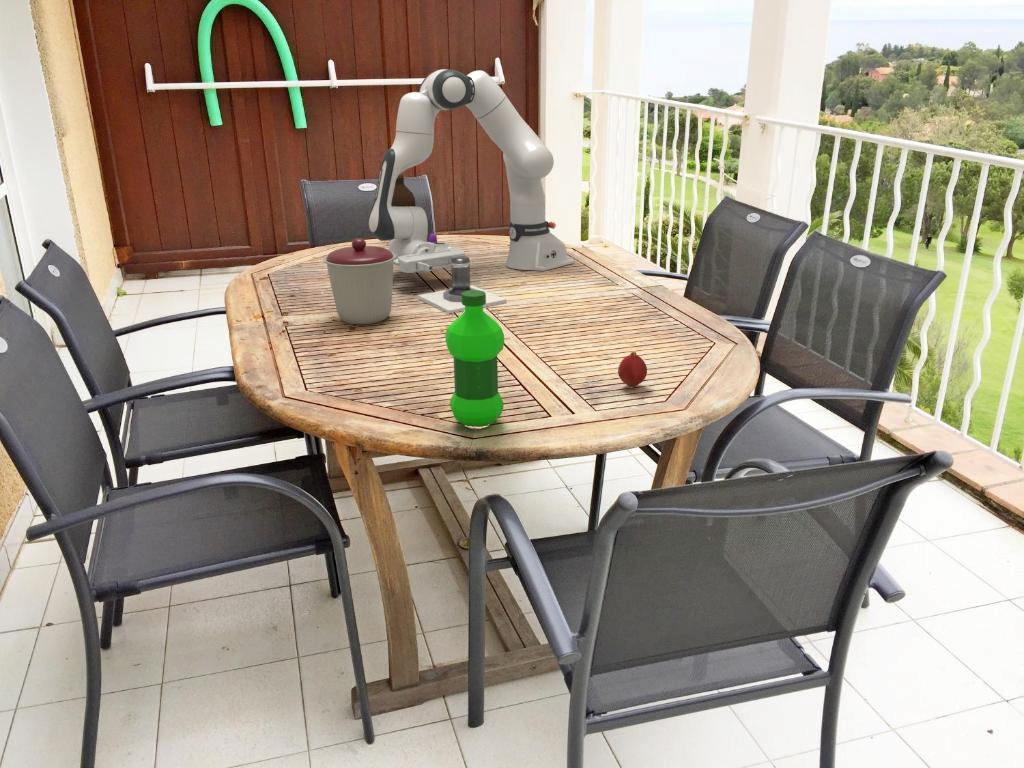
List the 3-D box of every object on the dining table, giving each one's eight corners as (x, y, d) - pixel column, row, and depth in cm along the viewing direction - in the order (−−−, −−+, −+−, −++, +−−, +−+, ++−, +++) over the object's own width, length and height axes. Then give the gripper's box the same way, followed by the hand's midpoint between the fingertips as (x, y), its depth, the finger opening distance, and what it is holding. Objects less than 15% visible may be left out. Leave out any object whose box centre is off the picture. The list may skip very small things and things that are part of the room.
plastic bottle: (453, 411, 155) (448, 285, 146) (508, 413, 154) (506, 286, 145) (444, 434, 146) (438, 300, 137) (502, 436, 145) (500, 301, 136)
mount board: (473, 288, 237) (472, 280, 236) (506, 302, 223) (506, 294, 222) (418, 298, 228) (417, 289, 227) (449, 314, 214) (448, 305, 213)
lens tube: (465, 293, 228) (463, 255, 224) (474, 297, 224) (473, 258, 220) (448, 296, 226) (447, 257, 221) (458, 300, 222) (456, 261, 217)
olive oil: (408, 239, 301) (404, 170, 291) (423, 244, 293) (419, 173, 283) (383, 243, 295) (378, 173, 286) (396, 248, 287) (392, 176, 278)
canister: (357, 305, 222) (350, 229, 214) (413, 313, 214) (408, 234, 207) (315, 324, 207) (306, 242, 199) (373, 333, 199) (366, 249, 192)
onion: (614, 383, 168) (616, 346, 165) (642, 381, 168) (644, 345, 165) (620, 393, 163) (622, 356, 160) (648, 392, 163) (651, 355, 160)
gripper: (389, 250, 234) (411, 260, 223) (451, 242, 244) (474, 250, 233) (390, 272, 236) (412, 282, 225) (451, 262, 246) (475, 271, 236)
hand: (444, 265), depth 229 cm, fingers open, 8 cm apart
